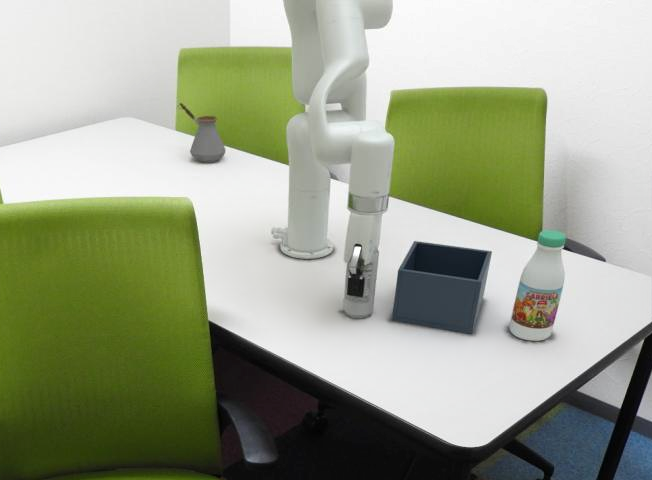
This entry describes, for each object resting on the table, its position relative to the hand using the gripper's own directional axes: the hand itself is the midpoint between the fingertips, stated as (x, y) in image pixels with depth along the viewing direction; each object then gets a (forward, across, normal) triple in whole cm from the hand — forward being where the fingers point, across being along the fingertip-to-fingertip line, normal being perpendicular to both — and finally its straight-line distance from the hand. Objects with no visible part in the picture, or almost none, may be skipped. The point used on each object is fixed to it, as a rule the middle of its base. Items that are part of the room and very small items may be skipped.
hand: (360, 287), depth 152 cm
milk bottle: (+6, -4, +33) cm, 34 cm away
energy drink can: (+6, 0, 0) cm, 6 cm away
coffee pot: (+6, -90, -77) cm, 118 cm away
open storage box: (+6, -7, +15) cm, 18 cm away
